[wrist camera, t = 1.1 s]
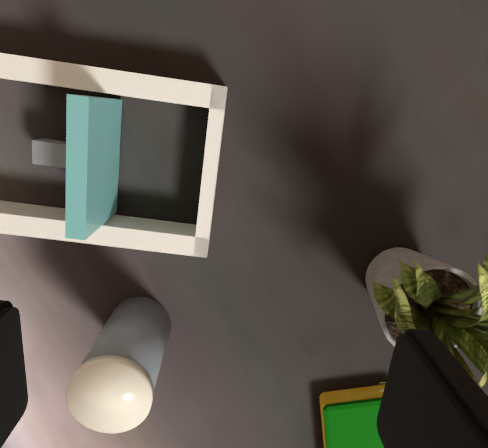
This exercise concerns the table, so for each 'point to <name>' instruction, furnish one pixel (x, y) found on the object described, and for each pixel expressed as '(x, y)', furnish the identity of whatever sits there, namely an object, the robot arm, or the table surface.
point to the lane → (121, 227)
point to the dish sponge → (351, 417)
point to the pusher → (86, 161)
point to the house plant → (432, 302)
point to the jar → (121, 368)
